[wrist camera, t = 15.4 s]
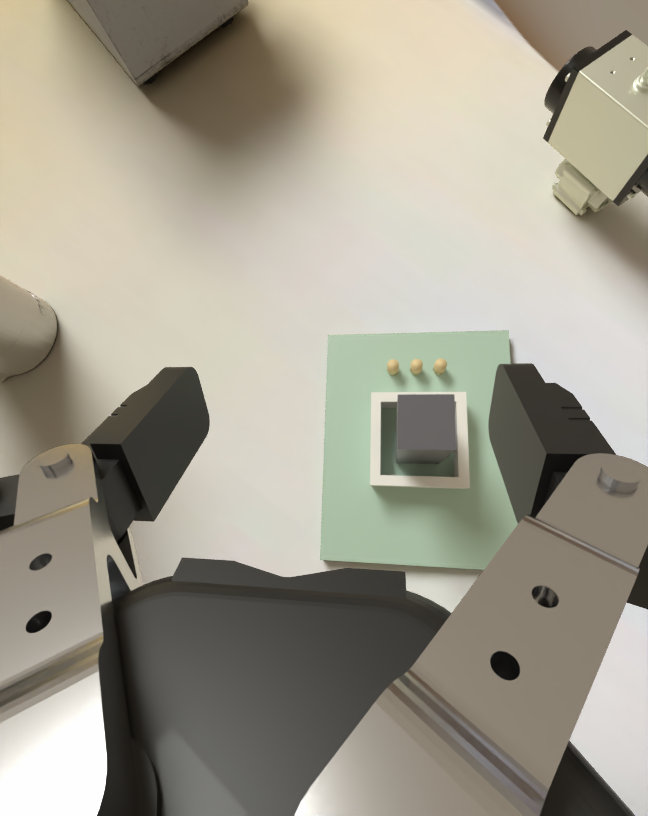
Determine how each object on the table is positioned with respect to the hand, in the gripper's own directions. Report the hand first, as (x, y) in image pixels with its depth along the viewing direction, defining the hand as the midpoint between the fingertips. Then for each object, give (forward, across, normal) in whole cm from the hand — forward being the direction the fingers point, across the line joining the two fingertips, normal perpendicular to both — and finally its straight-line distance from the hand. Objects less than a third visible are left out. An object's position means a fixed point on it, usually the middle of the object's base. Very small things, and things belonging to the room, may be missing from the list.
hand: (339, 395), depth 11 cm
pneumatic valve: (+37, -19, 0) cm, 42 cm away
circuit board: (+20, -4, +17) cm, 27 cm away
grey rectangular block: (+19, -4, +16) cm, 26 cm away
